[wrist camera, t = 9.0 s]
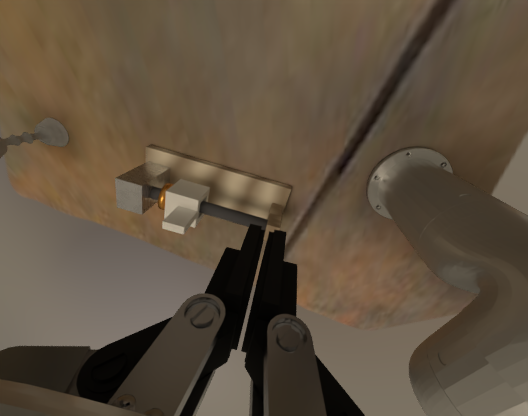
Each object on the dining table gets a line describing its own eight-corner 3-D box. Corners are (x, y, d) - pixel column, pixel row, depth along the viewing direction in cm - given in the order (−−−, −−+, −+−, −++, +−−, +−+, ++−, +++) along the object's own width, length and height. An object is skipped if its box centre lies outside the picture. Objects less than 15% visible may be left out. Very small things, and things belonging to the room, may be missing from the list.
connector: (186, 172, 41) (162, 191, 33) (184, 196, 43) (160, 219, 35) (148, 161, 40) (115, 178, 33) (148, 186, 43) (117, 207, 35)
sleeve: (209, 187, 38) (185, 215, 30) (206, 212, 40) (182, 245, 32) (180, 178, 38) (148, 204, 30) (178, 204, 40) (148, 235, 32)
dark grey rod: (268, 217, 38) (267, 223, 36) (265, 227, 38) (264, 233, 37) (144, 181, 37) (137, 185, 35) (144, 192, 38) (137, 197, 36)
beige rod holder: (291, 186, 41) (290, 209, 33) (275, 230, 46) (271, 260, 38) (150, 144, 41) (115, 158, 33) (150, 193, 45) (119, 216, 37)
